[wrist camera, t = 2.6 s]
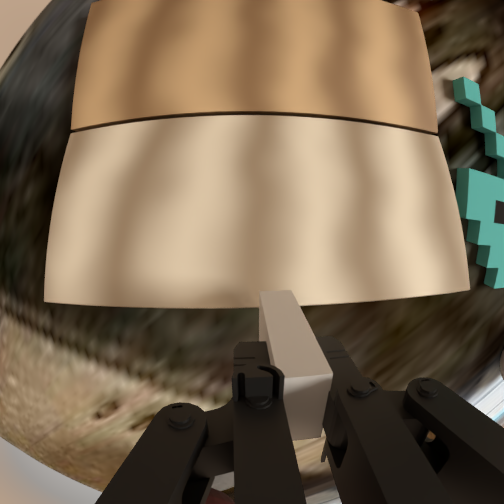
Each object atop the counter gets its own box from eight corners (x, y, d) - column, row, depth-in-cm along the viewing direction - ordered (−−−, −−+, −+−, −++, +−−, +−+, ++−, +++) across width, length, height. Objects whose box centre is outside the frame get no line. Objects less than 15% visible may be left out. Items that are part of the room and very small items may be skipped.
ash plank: (426, 148, 20) (437, 136, 18) (453, 292, 18) (469, 289, 16) (81, 146, 19) (70, 133, 17) (60, 303, 17) (43, 301, 15)
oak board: (407, 20, 18) (418, 12, 16) (424, 135, 20) (437, 132, 18) (100, 12, 16) (91, 3, 14) (83, 132, 19) (70, 129, 17)
